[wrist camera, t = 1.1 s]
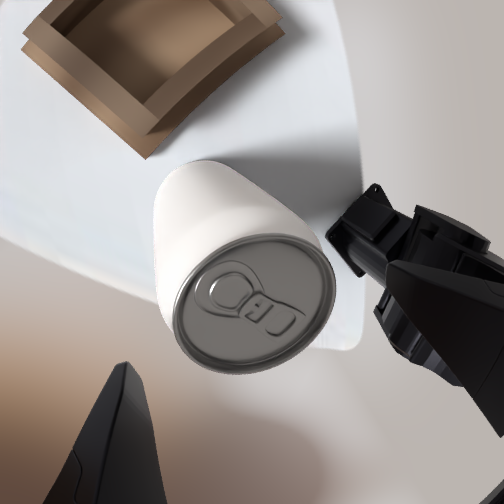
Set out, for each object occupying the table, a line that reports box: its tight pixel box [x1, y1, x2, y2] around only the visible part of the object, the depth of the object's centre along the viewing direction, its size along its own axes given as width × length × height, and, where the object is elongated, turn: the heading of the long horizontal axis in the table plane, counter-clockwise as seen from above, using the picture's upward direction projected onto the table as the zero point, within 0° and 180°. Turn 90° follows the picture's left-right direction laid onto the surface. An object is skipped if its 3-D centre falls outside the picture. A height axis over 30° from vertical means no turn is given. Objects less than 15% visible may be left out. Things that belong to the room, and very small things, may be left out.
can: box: [154, 160, 336, 375], centre depth 15 cm, size 6×6×12 cm
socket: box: [21, 0, 285, 160], centre depth 12 cm, size 12×12×4 cm
